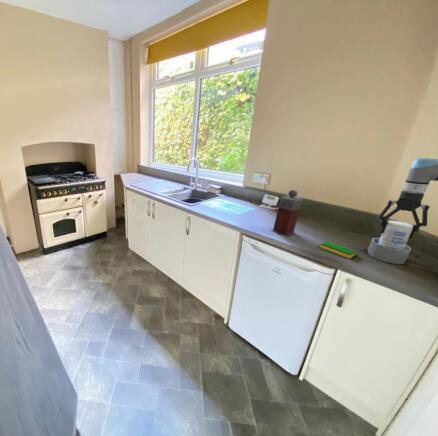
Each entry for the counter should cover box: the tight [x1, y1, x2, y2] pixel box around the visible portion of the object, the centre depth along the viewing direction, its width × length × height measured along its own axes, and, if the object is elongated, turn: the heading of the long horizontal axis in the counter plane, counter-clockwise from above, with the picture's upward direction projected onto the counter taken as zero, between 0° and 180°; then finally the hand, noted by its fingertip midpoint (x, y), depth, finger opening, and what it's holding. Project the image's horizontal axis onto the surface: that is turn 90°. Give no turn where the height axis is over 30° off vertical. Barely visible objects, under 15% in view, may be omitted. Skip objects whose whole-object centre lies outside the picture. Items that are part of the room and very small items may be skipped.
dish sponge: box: [320, 240, 357, 259], centre depth 128 cm, size 7×14×2 cm, turn 32°
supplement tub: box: [378, 220, 413, 250], centre depth 120 cm, size 10×10×15 cm
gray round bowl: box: [367, 237, 412, 265], centre depth 122 cm, size 15×15×8 cm
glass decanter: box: [272, 189, 304, 237], centre depth 147 cm, size 9×11×28 cm
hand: (395, 234), depth 119 cm, fingers closed on supplement tub, 9 cm apart
